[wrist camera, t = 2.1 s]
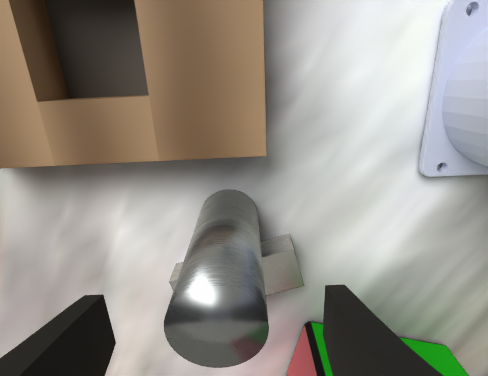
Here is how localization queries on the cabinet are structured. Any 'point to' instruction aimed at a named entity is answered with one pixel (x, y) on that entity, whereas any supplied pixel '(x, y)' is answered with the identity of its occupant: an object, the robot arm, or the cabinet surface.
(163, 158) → the socket block
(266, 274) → the blade bit
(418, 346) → the puzzle cube
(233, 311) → the dowel bit
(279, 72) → the cabinet surface
